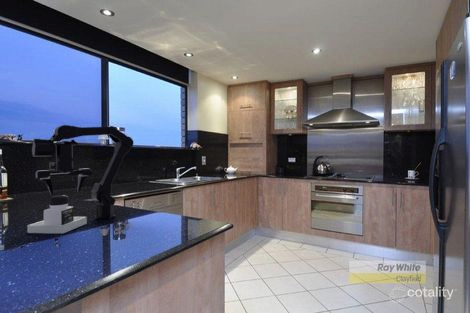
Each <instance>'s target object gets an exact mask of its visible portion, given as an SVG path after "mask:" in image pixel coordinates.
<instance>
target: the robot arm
mask: <svg viewBox="0 0 470 313" xmlns="http://www.w3.org/2000/svg"><path fill="white" fill-rule="evenodd" d="M88 136H89V137H91V136H92V137H93V136H108V137H109V138H110V139H111V141H112V142H114V143H115V144H114V152H113V155H112V157H111V159H110V161H109V163H108V165H107V168H106V170H105V172H104V175H103V176H102V178H101V181H99V182H98V183H97V182H95V183H94V184H93V187H92V189H91V190H90V193H91V194H90V195H91V198H92V200H94V201H95V203H96V207H95V217H94V220H110V219H111V218H115V217H116V215H117V214H115V211H114V210H115V204H116V199H115V198H114V197H113V196H112V189H113V188H112V187H113V186H112V184H113V182H114V180H115V177H116V175H117V173H118V170H119V168H120V166H121V164H122V162H123V159H124V157H125V156H126V155H127V154H128V153H129V152H130V150H131V149H132V148H133V146H134V140H133V138H132V137H130V136H128V135H127V134H125V133H123V132H122V131H121V130H118V128H116V127H115V126H113V125H109V126H90V127H89V126H87V127H82V126H77V125H76V126H75V125H68V124H63V125H60V126H56V128H55V129H54V133H53V135H51V137H50V138H49V139H40V138H33V142H32V147H31V154H32V157H33V158H34V157H52V156H53V154H55V161H56V162H54V161H53V162H52V161H51V162H49V163H48V166H49V169H45V170H36V172H35V179H39V180H40V181H43V182H44V183H45V185H46V187H47V188H48V189H47V190H48V191H49V194H50V197H52V196H54V191H53V190H54V189H53V182H52V178H50V177H57V176H73V175H75V176H76V175H77V187H76V190H77V191H76V192H77V193H80V191H81V189H82V187H83V184H84V182H85V181H86V178H89V176H92V175H93V170H92V169H91V168H78V169H77V170H74V157H73V154H74V150H73V149H74V148H73V147H74V146H79V143H78V142H77V141H75V138H79V137H88ZM69 139H71V140H69ZM56 142H57V143H56ZM58 142H60V143H58Z"/></svg>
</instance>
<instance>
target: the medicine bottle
mask: <svg viewBox="0 0 470 313" xmlns="http://www.w3.org/2000/svg"><path fill="white" fill-rule="evenodd" d="M74 213H75V212H74V206H70V205H69V196H67V195H65V194H61V195H60V194H59V195H58V194H57V195H53V196H50V197H49V208H47V209H44V210H43V220H44V225H64V224H67V223H70V222H72V221H74V217H75V216H74Z"/></svg>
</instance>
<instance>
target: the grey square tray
mask: <svg viewBox="0 0 470 313" xmlns="http://www.w3.org/2000/svg"><path fill="white" fill-rule="evenodd" d="M87 220H88V217H87V216H74V221H72V222H70V223H67V224H64V225H44V219H43V220H41V221H37V222H35V223H30V224H27V234H65V233H68V232H70V231H72V230H74V229H77V228H79V227H82V226H85V225H87V224H88V223H87Z"/></svg>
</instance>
